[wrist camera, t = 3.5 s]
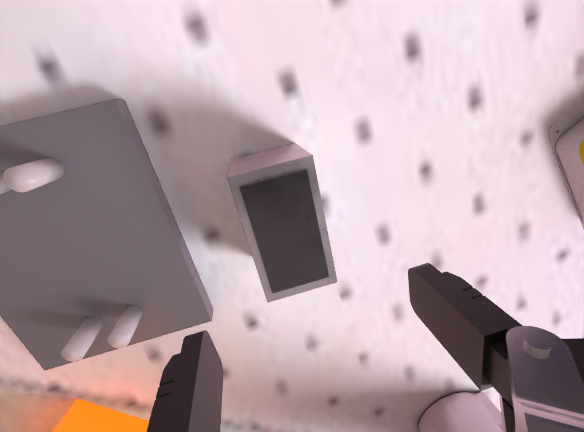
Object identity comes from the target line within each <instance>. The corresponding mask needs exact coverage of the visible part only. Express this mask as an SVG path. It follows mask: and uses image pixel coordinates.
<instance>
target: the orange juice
mask: <svg viewBox="0 0 584 432" xmlns="http://www.w3.org/2000/svg"><path fill="white" fill-rule="evenodd" d="M148 424H149V421H146V420H143V419H140V418H137V417H134V416H131V415H128V414H124V413H121V412H118V411H115V410H112V409H109V408H105V407H102V406H99V405H96V404H93V403H90V402H87V401H83V400H80V399H76V401H75V402H74V403H73V405H72V406H71V407H70V408H69V410H68V411H67V412H66V414H65V415H64V416H63V418H62V419H61V420H60V422H59V423H58V424H57V426H56V427H55V428H54V429H53V431H52V432H146V431H147V427H148Z"/></svg>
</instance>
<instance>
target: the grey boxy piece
mask: <svg viewBox="0 0 584 432" xmlns="http://www.w3.org/2000/svg"><path fill="white" fill-rule="evenodd" d="M227 178H228V181H229V185H230V188H231V191H232V194H233V197H234V200H235V203H236V206H237V209H238V212H239V216H240V219H241V222H242V225H243V228H244V231H245V234H246V237H247V240H248V243H249V246H250V250H251V253H252V256H253V259H254V262H255V265H256V268H257V271H258V274H259V277H260V280H261V284H262V287H263V290H264V293H265V296H266V299H267V302H271V301H275V300H278V299H281V298H285V297H288V296H292V295H295V294H298V293H302V292H305V291H309V290H312V289H315V288H319V287H322V286H326V285H329V284H332V283H336V282H337V278H336V273H335V267H334V262H333V257H332V252H331V247H330V242H329V237H328V232H327V227H326V221H325V216H324V211H323V206H322V201H321V196H320V191H319V186H318V181H317V176H316V170H315V165H314V160H313V155H312V154H310V153H309V152H307V151H306V150H304V149H303V148H302V147H300V146H299V145H297V144H296V143H292V144H288V145H285V146H281V147H277V148H273V149H269V150H265V151H261V152H257V153H253V154H250V155H246V156H242V157H238V158H234V159H231V161H230V166H229V171H228V176H227Z"/></svg>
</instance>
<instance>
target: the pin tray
mask: <svg viewBox="0 0 584 432" xmlns="http://www.w3.org/2000/svg"><path fill="white" fill-rule="evenodd" d="M212 315H213V308H212V305H211V303H210V300H209V298H208V296H207V293H206V291H205V289H204V286H203V284H202V282H201V279H200V277H199V275H198V272H197V270H196V267H195V265H194V263H193V260H192V258H191V256H190V253H189V251H188V249H187V246H186V244H185V242H184V239H183V237H182V234H181V232H180V230H179V227H178V225H177V223H176V220H175V218H174V216H173V213H172V211H171V209H170V206H169V204H168V201H167V199H166V197H165V194H164V192H163V190H162V187H161V185H160V183H159V180H158V178H157V176H156V173H155V171H154V168H153V166H152V164H151V161H150V159H149V157H148V154H147V152H146V150H145V147H144V145H143V143H142V140H141V138H140V135H139V133H138V131H137V128H136V126H135V124H134V121H133V119H132V117H131V114H130V112H129V110H128V107H127V105H126V102H125V100H118V99H115V100H110V101H106V102H102V103H98V104H93V105H89V106H85V107H81V108H77V109H72V110H68V111H64V112H60V113H55V114H51V115H47V116H43V117H39V118H34V119H30V120H26V121H22V122H17V123H13V124H9V125H5V126H1V127H0V316H1V317H2V318H3V319H4V321H5V322H6V323H7V324H8V326H9V327H10V328H11V329H12V331H13V332H14V333H15V334H16V336H17V337H18V338H19V339H20V340H21V342H22V343H23V344H24V345H25V347H26V348H27V349H28V350H29V352H30V353H31V354H32V355H33V357H34V358H35V359H36V360H37V362H38V363H39V364H40V365H41V367H42V368H43V369H44V370H48V369H51V368H55V367H58V366H62V365H65V364H68V363H72V362H76V361H79V360H82V359H85V358H88V357H92V356H95V355H99V354H102V353H105V352H109V351H112V350H115V349H119V348H124V347H126V346H129V345H132V344H135V343H139V342H142V341H146V340H149V339H152V338H156V337H159V336H162V335H166V334H169V333H172V332H176V331H179V330H183V329H186V328H189V327H193V326H196V325H199V324H203V323H206V322H209V321H212Z"/></svg>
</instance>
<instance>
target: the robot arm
mask: <svg viewBox="0 0 584 432" xmlns="http://www.w3.org/2000/svg"><path fill="white" fill-rule="evenodd" d="M408 280H409V293H410V302H411V305H412V307H413V310H414V311H415V313H416V315H417V316H418V317H419V318H420V319H421V321H422V322H423V323H424V324H425V325H426V327H427V328H428V329H429V330H430V331H431V332H432V334H433V335H434V336H435V337H436V338H437V340H438V341H439V342H440V343H441V344H442V346H443V347H444V348H445V349H446V350H447V351H448V353H449V354H450V355H451V356H452V357H453V359H454V360H455V361H456V362H457V363H458V364H459V366H460V367H461V368H462V369H463V370H464V372H465V373H466V374H467V375H468V376H469V378H470V379H471V380H472V381H473V382H474V383H475V385H476V386H477V387H478V388H479V389H480V391H482V390H485V389H488V388H491V387H494V388H495V389H496V390H497V391H498V393H499V394H500V407H501V412H500V411H499V410H498V409H497V408H496V406H495V405H494V404H493V403H492V402H491V400H490V399H489V398H488V397H487V396H486V395H485V393H484V392H480V393H477V394H473V393H469V392H461V393H455V394H452V395H449V396H447V397H444V398H442V399H440V400H439V401H437V402H436V403H434V404H433V405H432V406H431V407H430V408H428V410H427V411H426V412H425V413H424V414H423V416H422V418H421V420H420V422H419V432H584V338H582V339H560V338H559V337H558V336H556V335H555V334H553V333H551V332H549V331H546V330H544V329H541V328H537V327H532V326H522V325H521V324H520V323H518V322H517V321H516V320H515V319H513V318H512V317H511V316H509V315H508V314H507V313H506V312H504V311H503V310H502V309H501V308H499V307H498V306H497V305H495V304H494V303H493V302H492V301H490V300H489V299H488V298H486V297H485V296H483V295H482V294H481V293H480V292H479V291H478V290H476V289H475V288H474V289H473V287H472V286H471V285H470V284H469V283H467V282H466V281H465V280H463V279H462V278H461V277H458V276H456V275H453V274H451V273H449V272H444V273H441V272H440V271H438V270H437V269H436V268H435V267H434V266H432V265H431V264H429V263H426V264H423V265H419V266H416V267H413V268H410V269H409V270H408ZM159 385H160V387H159V388H158V392H157V395H156V400H155V402H154V406H153V409H152V413H151V417H150V420H149V424H148V427H147V431H146V432H220V424H221V406H222V388H223V368H222V363H221V360H220V357H219V355H218V353H217V351H216V348H215V346H214V344H213V342H212V340H211V338H210V335H209V333H208V332H207V331H206V330H205V331H201V332H198V333H195V334H192V335H188V336H186V337H185V338H184V340H183V344H182V349H181V353H180V354H177V355H173V356H172V358H171V359H170V361H169V362H168V364H167V365H166V367H165V368H164V370H163V374H162V377H161V381H160V384H159Z"/></svg>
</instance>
